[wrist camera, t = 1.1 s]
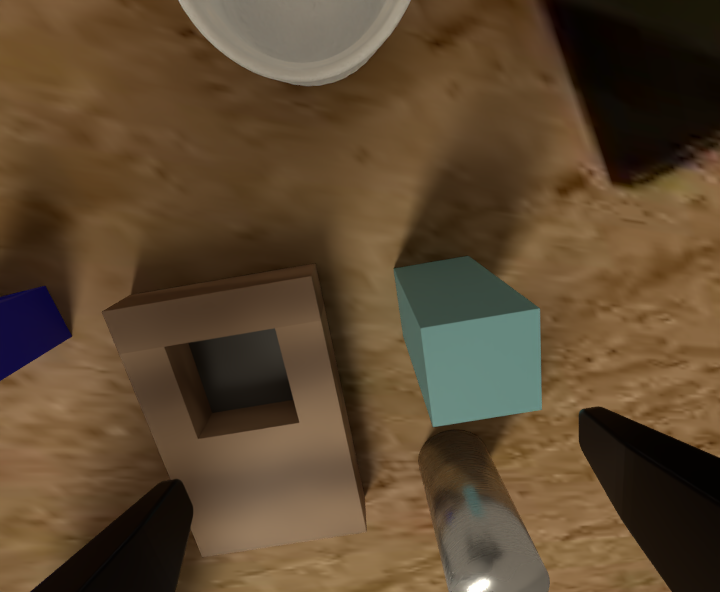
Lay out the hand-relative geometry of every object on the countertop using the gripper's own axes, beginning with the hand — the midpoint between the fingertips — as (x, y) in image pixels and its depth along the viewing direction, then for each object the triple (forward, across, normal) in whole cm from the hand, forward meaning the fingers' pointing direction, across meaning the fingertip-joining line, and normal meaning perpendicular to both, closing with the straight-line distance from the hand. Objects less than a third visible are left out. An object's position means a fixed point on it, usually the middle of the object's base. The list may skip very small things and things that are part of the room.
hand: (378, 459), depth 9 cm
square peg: (+13, -4, +2) cm, 14 cm away
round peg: (+13, -4, +12) cm, 18 cm away
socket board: (+13, +7, +6) cm, 16 cm away
